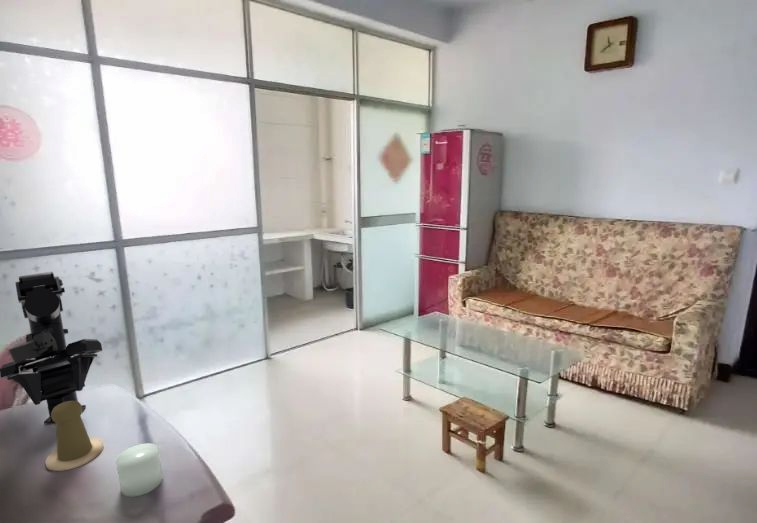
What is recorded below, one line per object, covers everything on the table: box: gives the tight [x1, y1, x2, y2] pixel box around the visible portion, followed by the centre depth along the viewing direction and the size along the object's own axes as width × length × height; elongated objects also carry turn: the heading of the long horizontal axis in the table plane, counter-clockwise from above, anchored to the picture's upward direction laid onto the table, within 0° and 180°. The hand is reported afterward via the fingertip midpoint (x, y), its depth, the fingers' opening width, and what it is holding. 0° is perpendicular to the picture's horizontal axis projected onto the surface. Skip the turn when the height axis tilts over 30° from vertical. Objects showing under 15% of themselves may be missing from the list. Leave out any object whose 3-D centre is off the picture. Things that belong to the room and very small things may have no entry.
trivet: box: [45, 437, 104, 472], centre depth 91 cm, size 10×10×1 cm
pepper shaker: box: [51, 400, 92, 462], centre depth 90 cm, size 6×6×11 cm
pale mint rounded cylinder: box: [115, 442, 164, 498], centre depth 81 cm, size 7×7×6 cm
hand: (58, 397), depth 93 cm, fingers open, 9 cm apart
